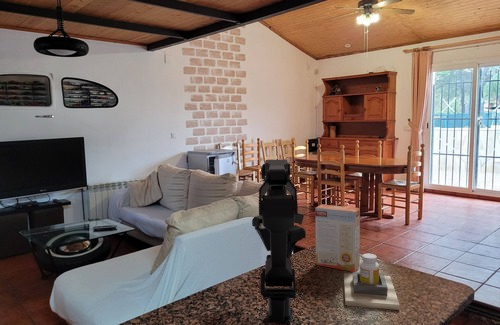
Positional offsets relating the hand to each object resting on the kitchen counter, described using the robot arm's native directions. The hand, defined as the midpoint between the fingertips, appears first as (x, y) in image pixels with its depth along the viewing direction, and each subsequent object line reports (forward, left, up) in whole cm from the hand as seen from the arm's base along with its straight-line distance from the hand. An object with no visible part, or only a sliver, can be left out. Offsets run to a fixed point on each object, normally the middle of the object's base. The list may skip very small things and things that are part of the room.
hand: (278, 255), depth 108 cm
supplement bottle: (+6, -26, -11) cm, 29 cm away
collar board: (+6, -26, -12) cm, 29 cm away
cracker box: (+24, -17, -12) cm, 32 cm away
